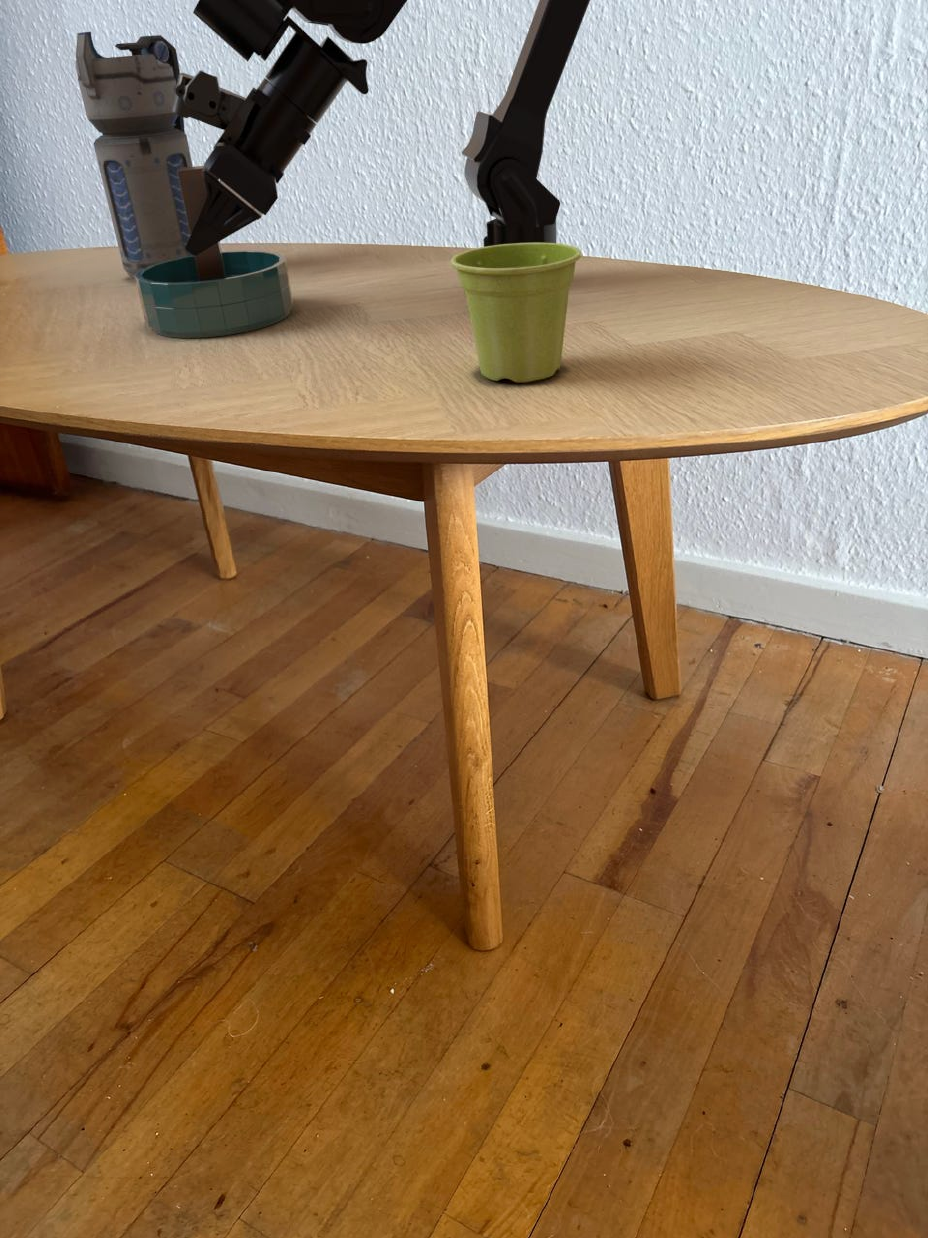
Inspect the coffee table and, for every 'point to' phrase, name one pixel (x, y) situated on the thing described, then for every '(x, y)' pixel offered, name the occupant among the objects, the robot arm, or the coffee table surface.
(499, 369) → the plant pot
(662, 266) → the coffee table surface
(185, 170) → the brown post on base
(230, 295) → the bowl
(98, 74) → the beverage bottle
